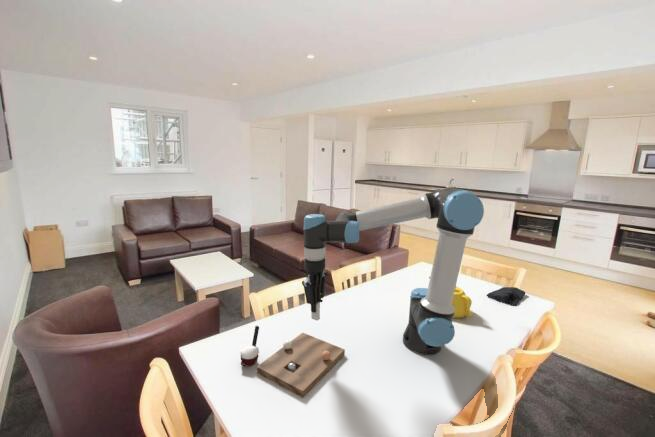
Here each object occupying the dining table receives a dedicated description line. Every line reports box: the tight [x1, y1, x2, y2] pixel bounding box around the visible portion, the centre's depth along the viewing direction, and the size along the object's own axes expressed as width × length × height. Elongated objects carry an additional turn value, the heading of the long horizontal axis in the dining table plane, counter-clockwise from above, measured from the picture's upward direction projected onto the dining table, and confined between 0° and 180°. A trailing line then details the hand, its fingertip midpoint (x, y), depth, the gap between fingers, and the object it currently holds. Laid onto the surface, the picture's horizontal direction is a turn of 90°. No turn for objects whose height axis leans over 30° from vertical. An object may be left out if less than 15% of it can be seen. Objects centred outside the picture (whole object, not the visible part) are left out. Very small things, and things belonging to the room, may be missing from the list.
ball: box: [287, 363, 296, 373], centre depth 109 cm, size 3×3×3 cm
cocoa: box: [239, 325, 260, 367], centre depth 112 cm, size 10×6×12 cm, turn 133°
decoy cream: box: [282, 339, 292, 349], centre depth 118 cm, size 3×3×3 cm
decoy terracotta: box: [322, 351, 331, 360], centre depth 112 cm, size 3×3×3 cm
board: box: [256, 332, 346, 399], centre depth 113 cm, size 20×26×2 cm
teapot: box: [428, 276, 473, 319], centre depth 156 cm, size 25×18×14 cm
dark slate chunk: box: [486, 286, 526, 307], centre depth 174 cm, size 15×22×5 cm
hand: (315, 318), depth 116 cm, fingers closed
